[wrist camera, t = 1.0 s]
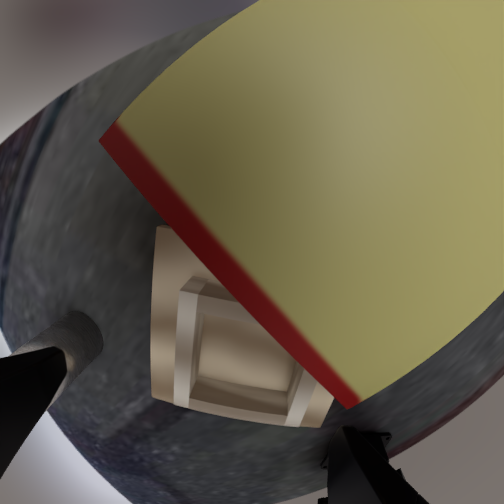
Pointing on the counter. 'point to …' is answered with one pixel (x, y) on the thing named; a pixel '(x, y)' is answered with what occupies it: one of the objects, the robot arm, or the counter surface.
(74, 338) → the aluminium peg
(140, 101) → the baking soda box
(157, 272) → the square peg hole base
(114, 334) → the counter surface
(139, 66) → the counter surface
